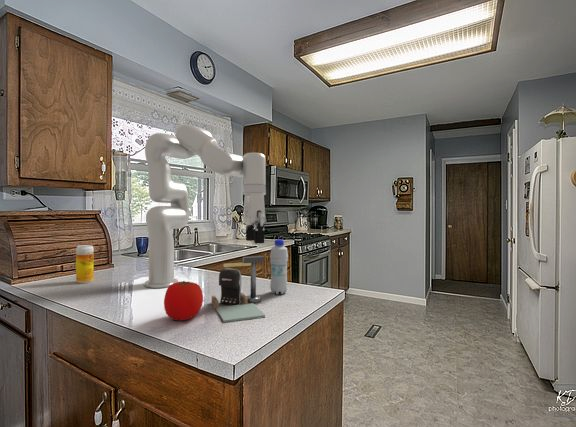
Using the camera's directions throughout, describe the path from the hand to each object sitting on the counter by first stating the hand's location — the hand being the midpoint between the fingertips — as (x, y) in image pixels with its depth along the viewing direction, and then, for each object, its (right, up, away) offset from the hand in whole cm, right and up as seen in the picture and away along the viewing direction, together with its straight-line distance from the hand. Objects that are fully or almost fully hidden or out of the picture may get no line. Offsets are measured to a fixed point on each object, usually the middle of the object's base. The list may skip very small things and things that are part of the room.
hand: (254, 241), depth 106 cm
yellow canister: (-73, -19, +25) cm, 79 cm away
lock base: (-1, -20, +1) cm, 20 cm away
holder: (-8, -20, -2) cm, 22 cm away
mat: (-3, -20, -11) cm, 23 cm away
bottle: (+8, -20, +12) cm, 25 cm away
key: (-4, -19, -1) cm, 19 cm away
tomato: (-19, -21, -16) cm, 32 cm away
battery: (-8, -20, -2) cm, 22 cm away
